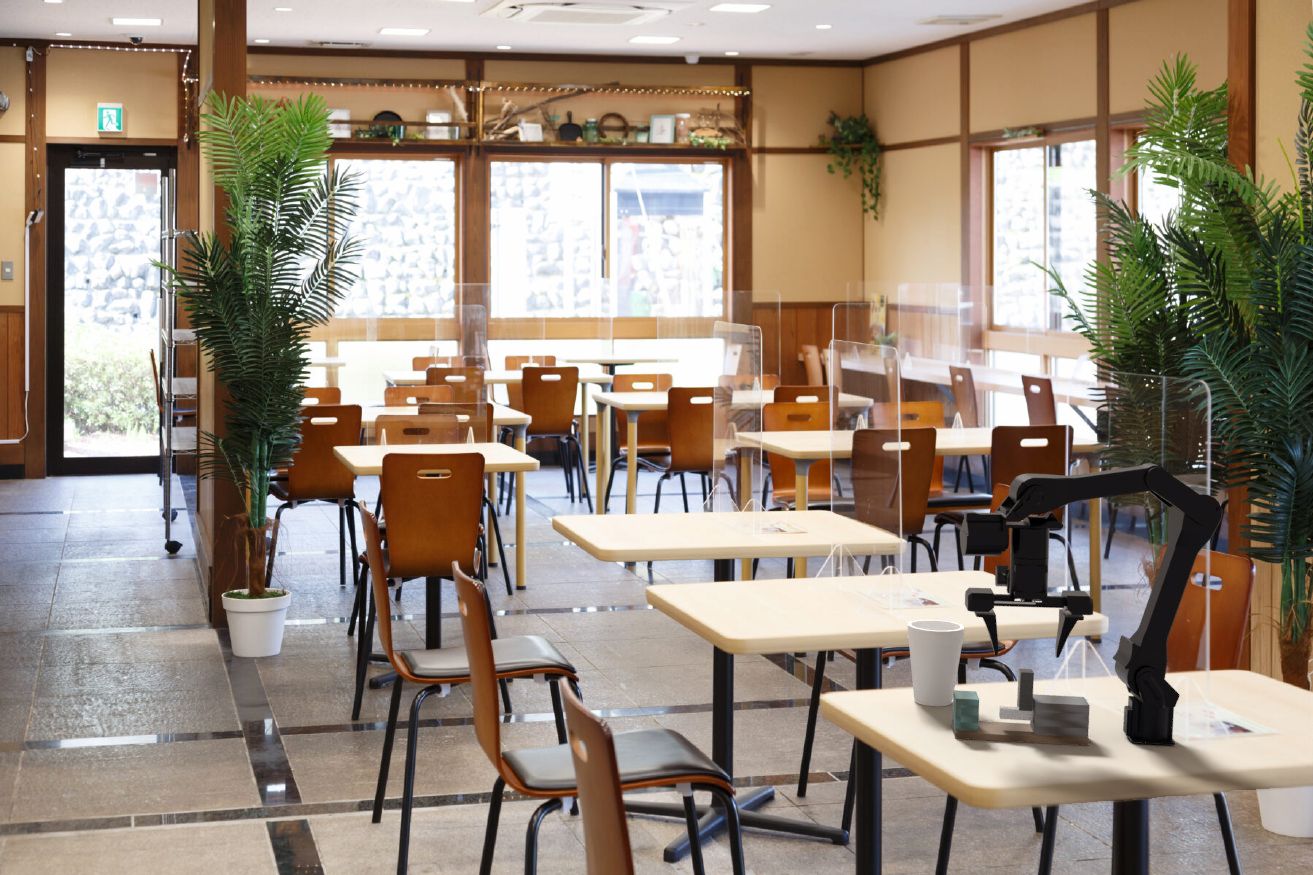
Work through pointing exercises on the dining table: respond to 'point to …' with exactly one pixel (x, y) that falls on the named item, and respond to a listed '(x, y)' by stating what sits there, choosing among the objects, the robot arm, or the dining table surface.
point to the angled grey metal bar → (1021, 699)
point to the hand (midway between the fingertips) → (1026, 656)
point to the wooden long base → (1051, 723)
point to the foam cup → (934, 659)
